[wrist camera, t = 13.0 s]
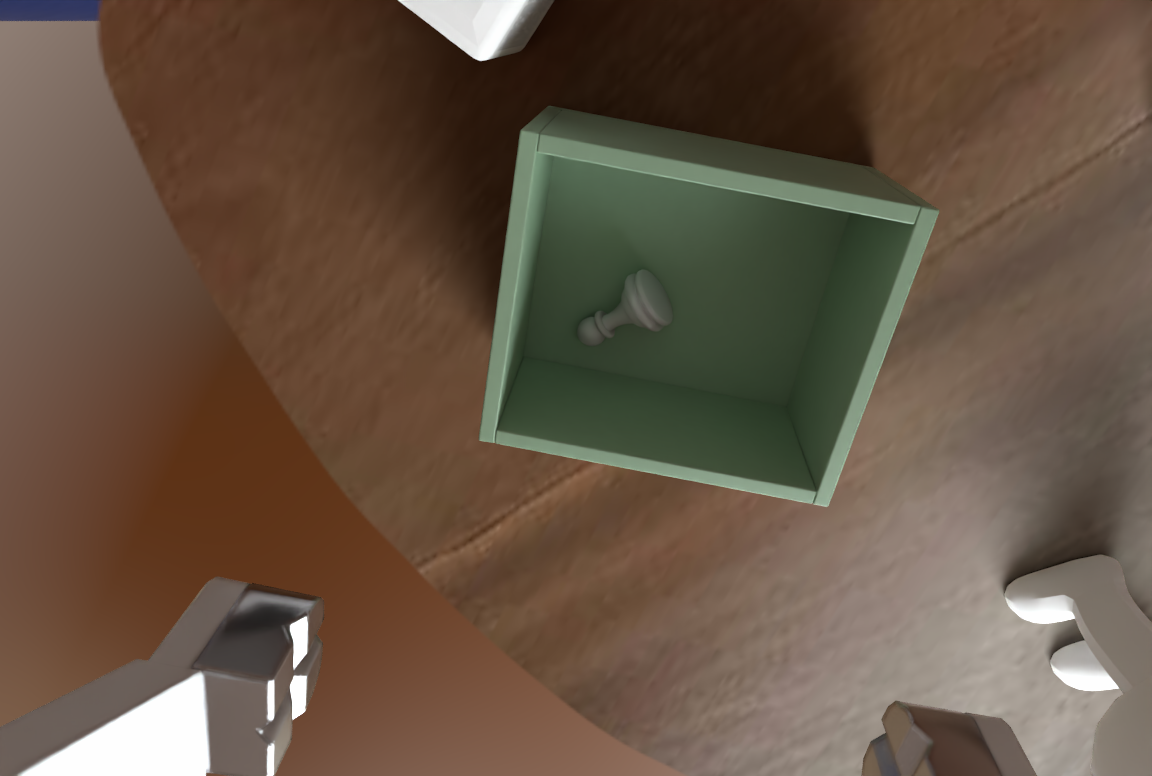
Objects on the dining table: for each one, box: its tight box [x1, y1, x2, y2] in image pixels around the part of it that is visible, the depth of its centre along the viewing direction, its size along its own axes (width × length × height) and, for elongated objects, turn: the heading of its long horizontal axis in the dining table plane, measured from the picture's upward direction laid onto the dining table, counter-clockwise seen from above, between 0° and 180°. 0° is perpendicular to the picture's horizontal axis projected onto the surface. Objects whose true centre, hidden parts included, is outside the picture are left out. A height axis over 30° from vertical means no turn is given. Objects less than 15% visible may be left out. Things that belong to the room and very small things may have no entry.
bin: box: [479, 106, 939, 507], centre depth 30 cm, size 13×11×8 cm
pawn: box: [577, 269, 673, 346], centre depth 33 cm, size 3×3×4 cm
